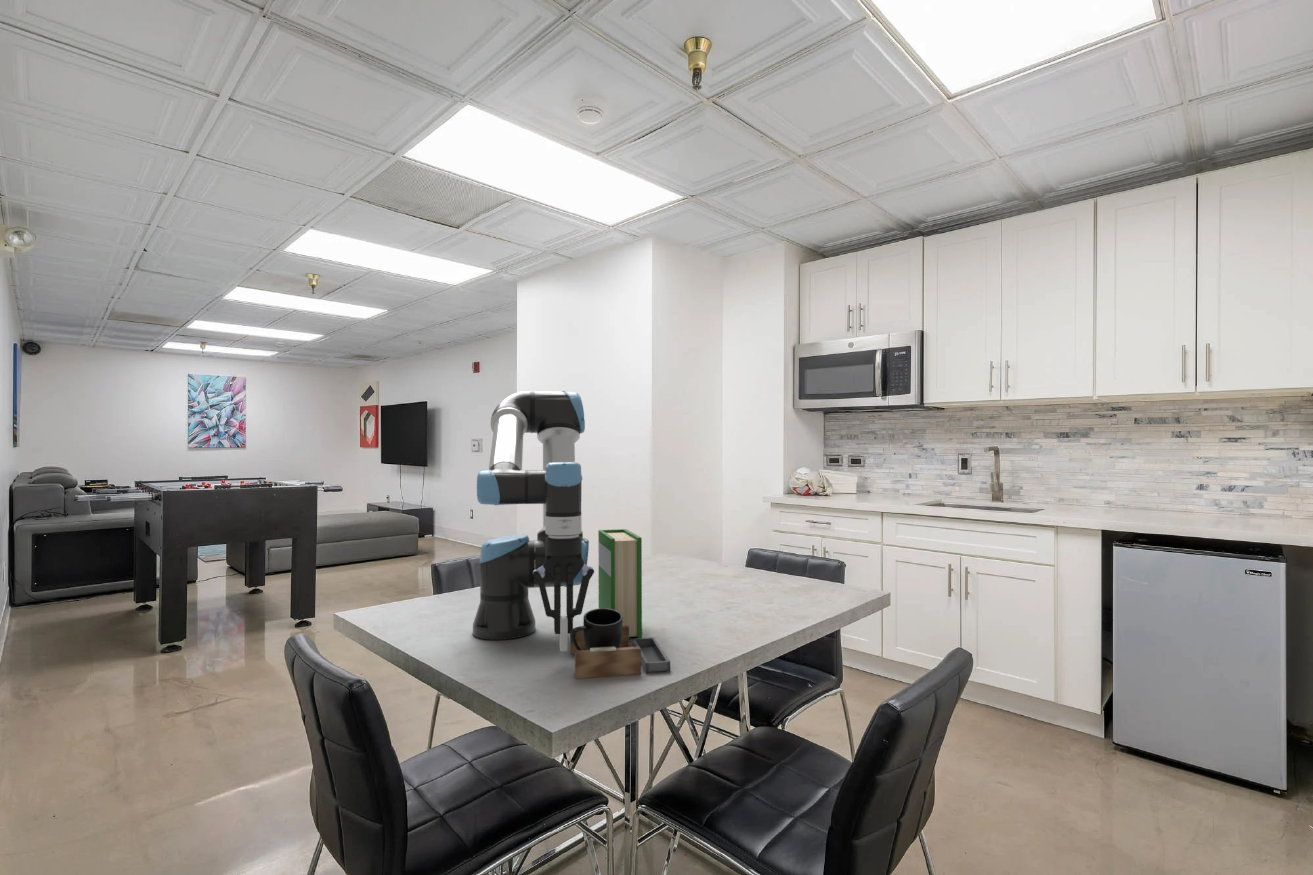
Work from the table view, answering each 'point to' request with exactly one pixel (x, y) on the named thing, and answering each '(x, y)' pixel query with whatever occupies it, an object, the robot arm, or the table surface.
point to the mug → (600, 629)
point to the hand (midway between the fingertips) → (563, 648)
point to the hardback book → (621, 576)
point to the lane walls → (606, 658)
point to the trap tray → (652, 655)
